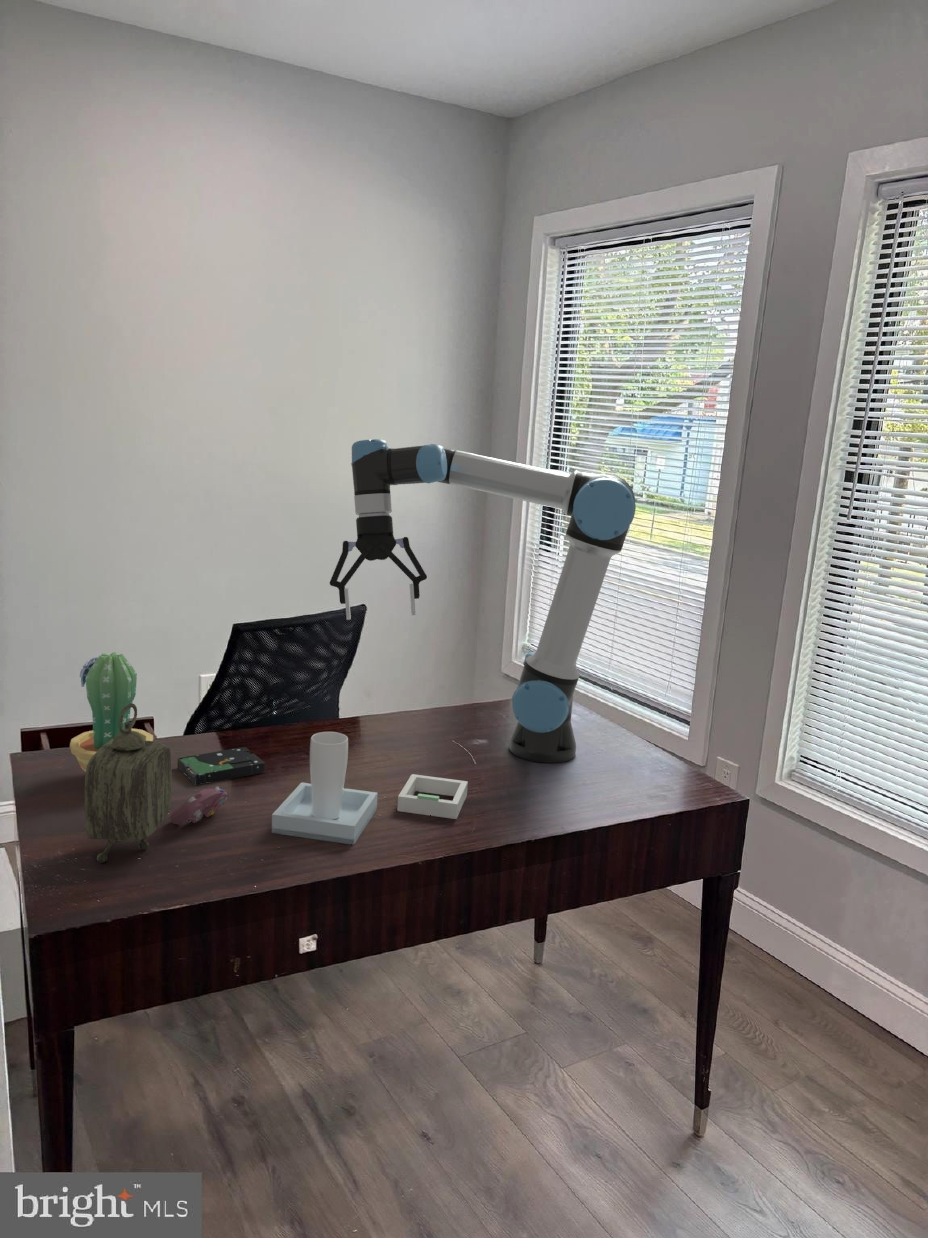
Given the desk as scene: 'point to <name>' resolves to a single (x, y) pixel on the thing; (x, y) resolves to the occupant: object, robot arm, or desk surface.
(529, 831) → the desk surface
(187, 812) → the pink toy figurine
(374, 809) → the tray
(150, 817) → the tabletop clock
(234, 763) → the disk drive
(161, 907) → the desk surface
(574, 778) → the desk surface
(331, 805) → the drinking glass
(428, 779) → the frame
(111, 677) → the potted cactus
